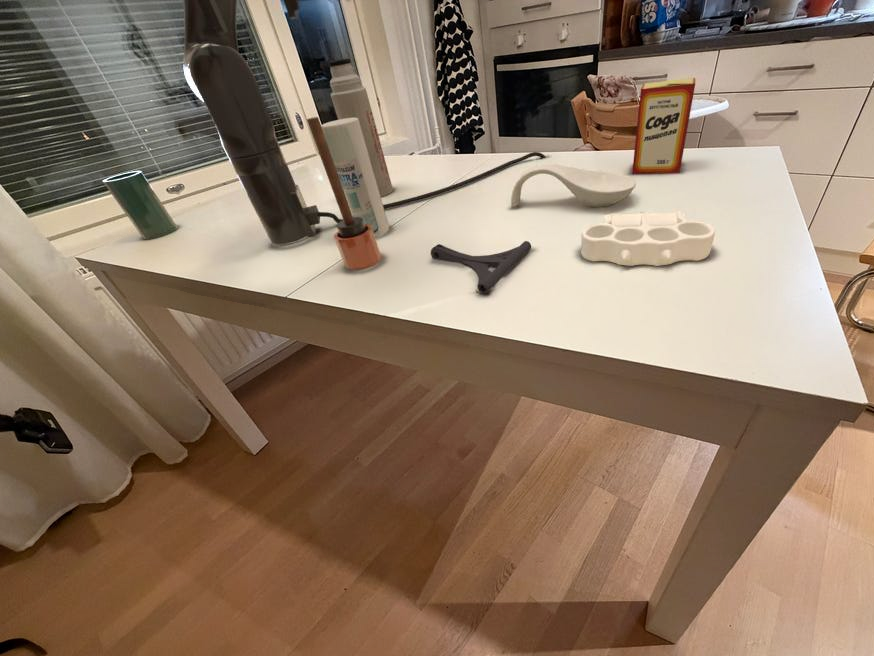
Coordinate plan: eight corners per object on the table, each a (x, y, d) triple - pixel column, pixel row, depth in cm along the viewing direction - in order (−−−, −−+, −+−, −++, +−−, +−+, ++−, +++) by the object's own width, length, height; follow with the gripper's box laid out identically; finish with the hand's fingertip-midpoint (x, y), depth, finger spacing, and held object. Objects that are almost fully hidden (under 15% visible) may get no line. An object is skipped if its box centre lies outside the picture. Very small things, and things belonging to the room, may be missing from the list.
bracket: (457, 241, 72) (454, 227, 70) (531, 250, 65) (530, 234, 63) (408, 280, 63) (404, 264, 61) (488, 295, 56) (485, 278, 54)
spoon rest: (633, 189, 79) (638, 150, 75) (634, 212, 71) (639, 169, 66) (518, 195, 86) (516, 160, 81) (506, 216, 78) (503, 178, 73)
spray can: (352, 238, 80) (312, 127, 67) (372, 225, 84) (337, 118, 72) (378, 240, 77) (341, 125, 65) (396, 227, 82) (365, 116, 69)
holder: (380, 252, 73) (370, 220, 69) (383, 266, 68) (373, 233, 64) (346, 261, 72) (334, 229, 68) (347, 276, 67) (333, 243, 63)
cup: (181, 224, 106) (146, 168, 97) (172, 234, 100) (133, 176, 91) (150, 231, 105) (111, 176, 96) (138, 241, 99) (96, 184, 90)
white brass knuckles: (700, 226, 63) (716, 270, 52) (584, 229, 68) (578, 270, 58) (705, 205, 61) (723, 247, 50) (585, 210, 66) (578, 249, 55)
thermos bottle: (397, 186, 104) (363, 55, 87) (386, 197, 99) (346, 58, 81) (370, 189, 106) (331, 60, 88) (357, 199, 101) (313, 64, 83)
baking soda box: (632, 174, 86) (641, 86, 76) (635, 165, 91) (644, 81, 81) (679, 172, 83) (695, 81, 73) (680, 163, 87) (695, 75, 77)
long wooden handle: (374, 253, 72) (328, 113, 57) (376, 262, 68) (327, 116, 54) (350, 259, 71) (297, 119, 57) (351, 269, 68) (295, 123, 54)
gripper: (255, -189, 41) (320, 16, 51) (114, -166, 40) (209, 39, 50) (235, -232, 35) (313, 10, 45) (69, -205, 34) (187, 36, 44)
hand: (258, 25), depth 47 cm, fingers open, 8 cm apart
